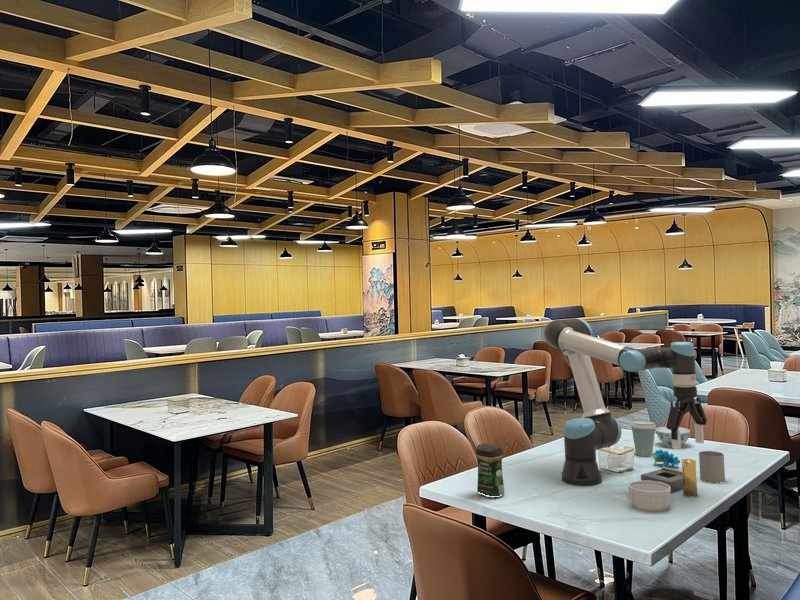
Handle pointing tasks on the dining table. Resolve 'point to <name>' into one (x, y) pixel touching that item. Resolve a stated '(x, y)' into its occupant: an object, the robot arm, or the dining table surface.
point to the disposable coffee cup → (643, 437)
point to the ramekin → (650, 495)
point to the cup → (712, 466)
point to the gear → (665, 458)
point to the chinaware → (665, 435)
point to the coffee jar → (490, 470)
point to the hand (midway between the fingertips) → (688, 445)
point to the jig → (666, 478)
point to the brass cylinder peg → (689, 477)
